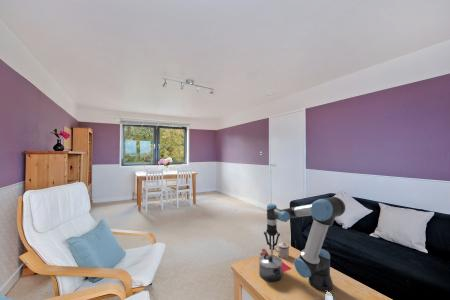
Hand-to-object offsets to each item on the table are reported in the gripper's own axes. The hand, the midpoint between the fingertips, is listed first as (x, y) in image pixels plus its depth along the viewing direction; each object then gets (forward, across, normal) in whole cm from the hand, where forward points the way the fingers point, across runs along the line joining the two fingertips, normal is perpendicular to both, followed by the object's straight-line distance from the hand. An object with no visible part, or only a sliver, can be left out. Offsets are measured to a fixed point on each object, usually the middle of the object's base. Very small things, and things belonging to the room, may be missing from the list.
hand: (272, 253), depth 159 cm
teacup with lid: (+9, -7, -18) cm, 21 cm away
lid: (0, +2, +10) cm, 10 cm away
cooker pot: (+9, +1, +11) cm, 14 cm away
